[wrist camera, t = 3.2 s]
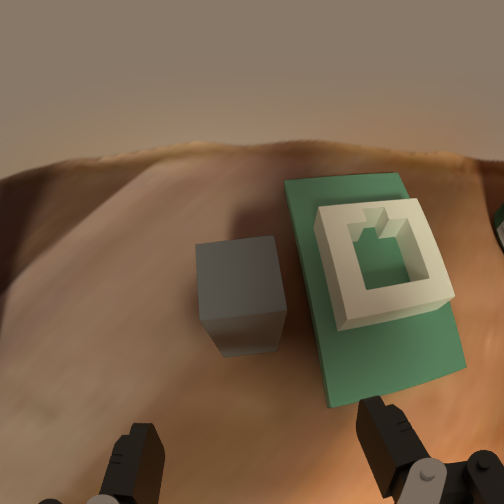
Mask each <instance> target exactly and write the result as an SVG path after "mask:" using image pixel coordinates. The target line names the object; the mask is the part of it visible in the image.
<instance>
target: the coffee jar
mask: <svg viewBox="0 0 504 504" xmlns="http://www.w3.org/2000/svg"><path fill="white" fill-rule="evenodd" d="M494 225H495V229H496V234H497V237H498V240H499V243H500V245H501V247H502V249H503V250H504V203H503V204H502V205H501V207H500V208H499V209H498V210H497V211H496V213H495V216H494Z"/></svg>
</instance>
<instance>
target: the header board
mask: <svg viewBox="0 0 504 504" xmlns="http://www.w3.org/2000/svg"><path fill="white" fill-rule="evenodd" d="M284 192H285V196H286V201H287V205H288V209H289V214H290V218H291V222H292V227H293V231H294V236H295V240H296V245H297V250H298V254H299V259H300V264H301V268H302V273H303V278H304V283H305V288H306V293H307V298H308V303H309V308H310V313H311V318H312V323H313V328H314V334H315V339H316V345H317V350H318V356H319V361H320V367H321V373H322V378H323V384H324V390H325V396H326V402H327V408H333V407H338V406H342V405H347V404H351V403H355V402H359V401H360V400H361V399H364V398H369V397H372V396H376V395H379V396H383V395H386V394H390V393H393V392H397V391H400V390H403V389H407V388H410V387H413V386H416V385H419V384H422V383H425V382H428V381H431V380H434V379H437V378H440V377H443V376H445V375H448V374H451V373H453V372H456V371H459V370H461V369H464V368H466V367H467V366H466V362H465V358H464V353H463V349H462V345H461V341H460V337H459V333H458V330H457V326H456V322H455V319H454V315H453V312H452V309H451V305H450V302H449V300H451V299H452V298H453V297H455V294H454V291H453V288H452V285H451V282H450V279H449V276H448V274H447V271H446V268H445V265H444V262H443V260H442V257H441V254H440V252H439V249H438V247H437V244H436V242H435V239H434V237H433V234H432V232H431V229H430V227H429V225H428V222H427V220H426V218H425V215H424V213H423V211H422V209H421V206H420V204H419V202H418V200H417V198H415V199H410V197H409V195H408V193H407V191H406V189H405V187H404V185H403V182H402V180H401V178H400V176H399V174H398V173H381V174H361V175H345V176H331V177H318V178H305V179H294V180H284Z"/></svg>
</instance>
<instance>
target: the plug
mask: <svg viewBox="0 0 504 504" xmlns="http://www.w3.org/2000/svg"><path fill="white" fill-rule="evenodd" d="M195 245H196V267H197V285H198V302H199V317H200V322H201V323H202V325H203V326H204V328H205V329H206V331H207V332H208V334H209V336H210V337H211V339H212V340H213V342H214V343H215V345H216V346H217V348H218V349H219V351H220V352H221V354H222V355H223V357H233V356H242V355H250V354H258V353H266V352H273V351H278V346H279V342H280V338H281V334H282V330H283V326H284V322H285V317H286V313H287V305H286V299H285V294H284V288H283V282H282V277H281V271H280V265H279V260H278V254H277V249H276V243H275V238H274V235H268V236H260V237H252V238H244V239H235V240H227V241H219V242H211V243H203V244H195Z"/></svg>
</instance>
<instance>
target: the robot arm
mask: <svg viewBox="0 0 504 504" xmlns="http://www.w3.org/2000/svg"><path fill="white" fill-rule="evenodd" d="M356 432H357V437H358V439H359V442H360V444H361V446H362V449H363V451H364V454H365V456H366V458H367V461H368V463H369V465H370V468H371V470H372V473H373V475H374V477H375V480H376V482H377V485H378V487H379V490H380V492H381V494H382V497H383V499H384V498H387V497H390V496H392V497H393V500H394V504H504V466H503V464H502V463H501V461H500V460H499V458H498V457H497V455H496V454H495V453H493V452H491V451H488V450H480V451H477V452H475V453H473V454H472V455H471V456H470V457H469V459H468V461H463V462H456V463H448V464H447V463H442V462H441V461H440V460H438V459H435V458H431V457H430V455H429V454H428V452H427V451H426V449H425V447H424V446H423V444H422V442H421V441H420V439H419V437H418V436H417V434H416V432H415V431H414V429H412V426H411V424H410V422H408V419H407V418H406V416H405V414H404V413H403V411H402V410H400V409H399V408H398V407H396V406H395V405H393V404H391V405H387V406H385V404H384V402H383V400H382V399H381V397H380V396H379V395H376V396H372V397H369V398H364V399H361V400H360V401H359V406H358V413H357V420H356ZM164 462H165V451H164V447H163V445H162V442H161V440H160V438H159V436H158V434H157V432H156V429H155V427H154V425H153V424H152V423H133V424H132V427H131V430H130V433H129V435H122V436H121V437H120V438H119V440H118V441H117V442H116V443H115V445H114V448H113V451H112V456H111V457H110V460H109V464H108V467H107V470H106V473H105V476H104V480H103V483H102V486H101V490H100V492H99V494H98V495H97V496H94V497H92V498H91V499H89V500H88V502H87V503H86V504H158V500H159V494H160V487H161V481H162V475H163V468H164ZM39 504H62V503H61V502H59V501H58V500H55V499H45V500H43V501H41V502H40V503H39Z"/></svg>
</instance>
